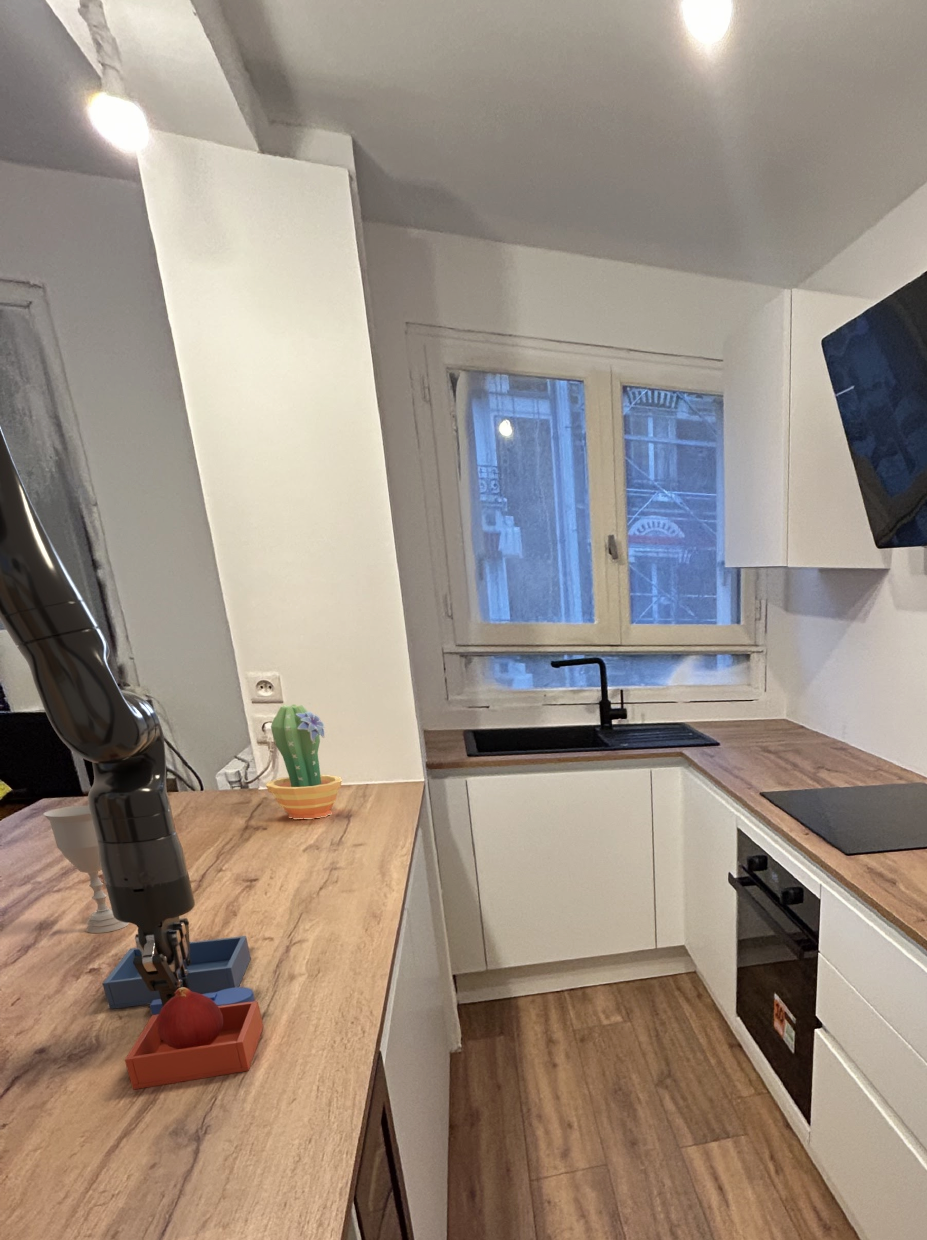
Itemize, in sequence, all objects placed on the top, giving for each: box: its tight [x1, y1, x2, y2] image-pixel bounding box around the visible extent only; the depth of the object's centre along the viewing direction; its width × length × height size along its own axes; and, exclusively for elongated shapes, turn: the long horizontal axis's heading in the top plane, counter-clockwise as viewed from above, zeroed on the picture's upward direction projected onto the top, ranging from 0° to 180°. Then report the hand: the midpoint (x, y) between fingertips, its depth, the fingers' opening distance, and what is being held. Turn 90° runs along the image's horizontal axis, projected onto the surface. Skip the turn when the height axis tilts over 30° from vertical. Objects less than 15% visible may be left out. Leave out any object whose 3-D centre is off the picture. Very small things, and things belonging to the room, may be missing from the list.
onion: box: [157, 987, 223, 1049], centre depth 88 cm, size 6×6×8 cm
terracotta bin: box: [124, 1000, 264, 1090], centre depth 89 cm, size 10×10×4 cm
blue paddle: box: [149, 986, 256, 1016], centre depth 98 cm, size 10×5×2 cm, turn 113°
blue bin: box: [102, 935, 252, 1010], centre depth 105 cm, size 13×11×4 cm
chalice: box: [42, 804, 130, 934], centre depth 120 cm, size 7×7×18 cm
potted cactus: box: [265, 704, 342, 819], centre depth 183 cm, size 15×15×25 cm
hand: (179, 1011), depth 97 cm, fingers closed on blue paddle, 1 cm apart
